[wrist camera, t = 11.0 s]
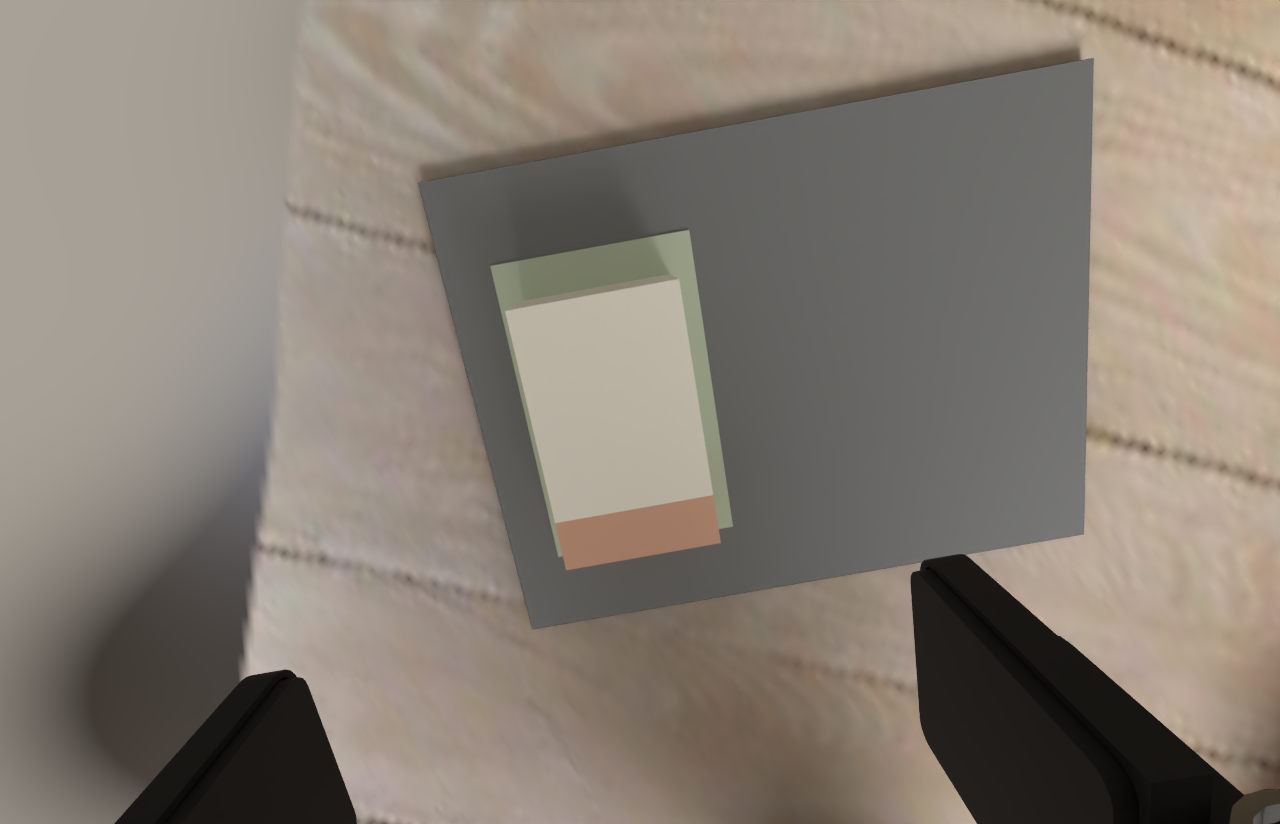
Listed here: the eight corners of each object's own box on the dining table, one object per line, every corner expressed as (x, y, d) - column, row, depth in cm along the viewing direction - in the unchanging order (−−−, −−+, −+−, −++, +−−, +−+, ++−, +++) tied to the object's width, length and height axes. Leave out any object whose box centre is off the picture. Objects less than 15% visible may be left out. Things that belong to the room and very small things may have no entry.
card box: (669, 273, 24) (679, 278, 21) (706, 500, 27) (720, 543, 23) (523, 301, 25) (505, 310, 21) (573, 524, 27) (566, 570, 23)
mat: (1074, 528, 29) (1085, 535, 28) (533, 621, 29) (531, 630, 29) (1082, 62, 24) (1095, 57, 23) (422, 184, 24) (416, 182, 23)
